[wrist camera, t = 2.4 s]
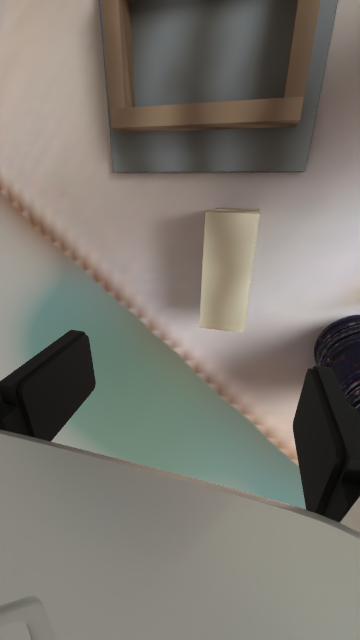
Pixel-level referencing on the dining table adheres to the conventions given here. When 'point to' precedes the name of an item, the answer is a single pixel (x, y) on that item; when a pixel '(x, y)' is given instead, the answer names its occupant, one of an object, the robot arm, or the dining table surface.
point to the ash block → (227, 267)
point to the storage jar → (342, 355)
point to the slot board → (214, 82)
